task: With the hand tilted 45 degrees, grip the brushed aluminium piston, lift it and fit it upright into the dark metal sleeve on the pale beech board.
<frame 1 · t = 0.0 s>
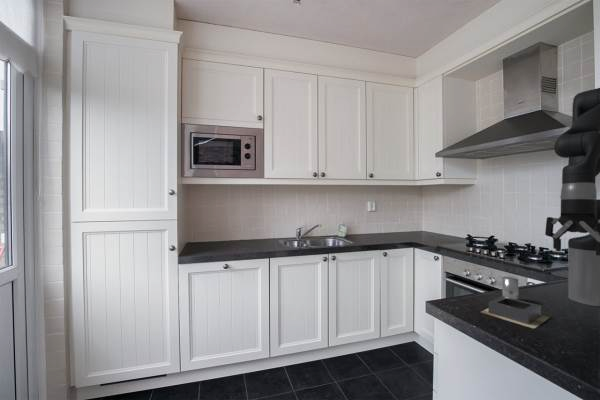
hand: (577, 253, 81), 17 cm above the counter, tool pointing down, fingers open, 8 cm apart
board: (514, 318, 75), on the counter
piston: (510, 303, 86), on the counter
sleeve: (514, 314, 75), resting on board
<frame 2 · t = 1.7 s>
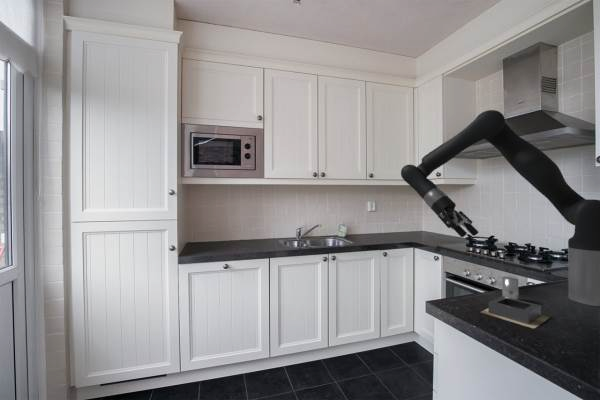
hand: (470, 234, 95), 21 cm above the counter, tool tilted 45°, fingers open, 8 cm apart
nothing on the counter moved.
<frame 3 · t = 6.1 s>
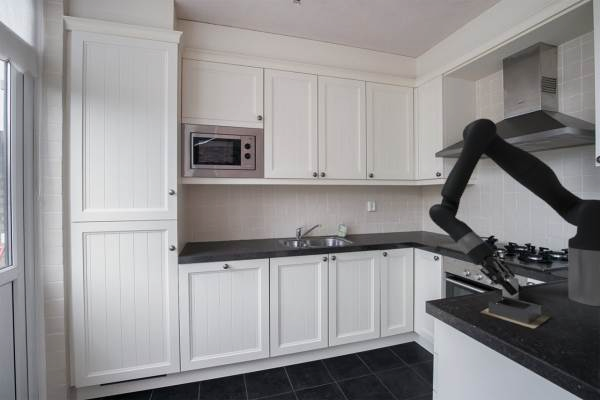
hand: (517, 292, 84), 4 cm above the counter, tool tilted 45°, fingers closed on piston, 4 cm apart
piston: (510, 303, 86), on the counter, touching gripper
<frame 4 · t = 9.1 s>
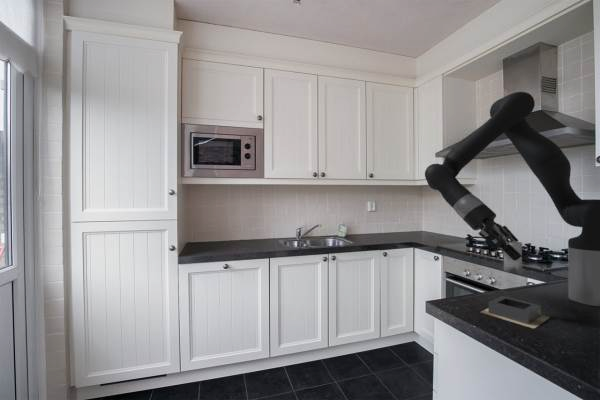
hand: (521, 257, 74), 17 cm above the counter, tool tilted 45°, fingers closed on piston, 4 cm apart
piston: (512, 270, 75), point 13 cm above the counter, touching gripper
when the fingers open (6 cm above the counter, at t = 12.0 s): piston drops 1 cm, resting on board.
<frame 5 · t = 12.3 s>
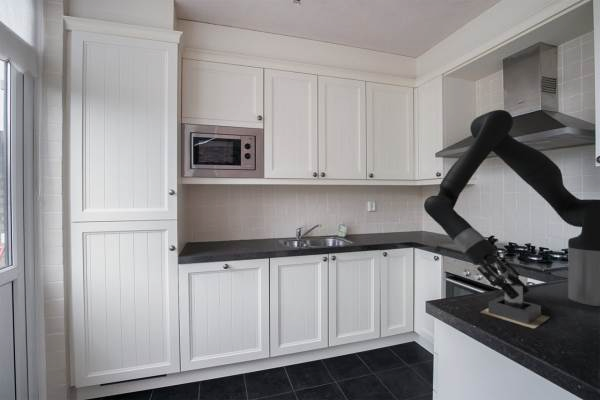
hand: (521, 294, 74), 7 cm above the counter, tool tilted 45°, fingers open, 6 cm apart
piston: (513, 314, 75), point 1 cm above the counter, touching board
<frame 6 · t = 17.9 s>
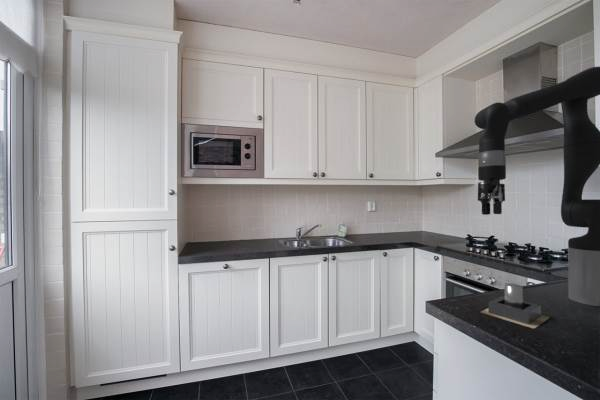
hand: (491, 214, 90), 28 cm above the counter, tool pointing down, fingers open, 8 cm apart
nothing on the counter moved.
at the end: piston 0.2 cm off-centre on the sleeve, point 0.0 cm above the sleeve's base; piston tilted 0°; the gripper is holding nothing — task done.
